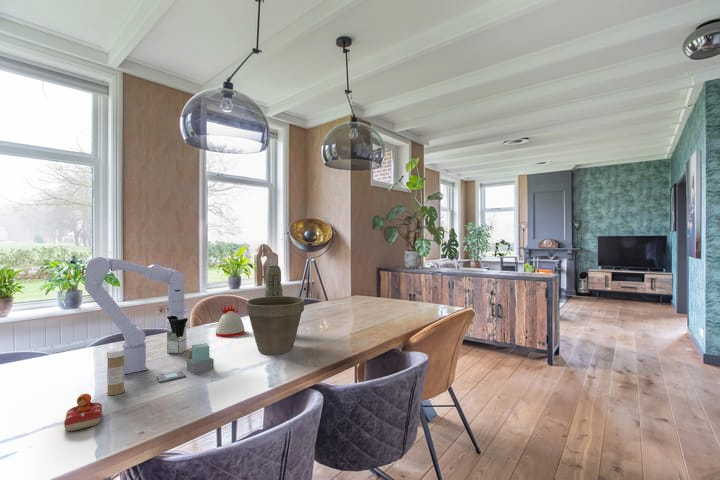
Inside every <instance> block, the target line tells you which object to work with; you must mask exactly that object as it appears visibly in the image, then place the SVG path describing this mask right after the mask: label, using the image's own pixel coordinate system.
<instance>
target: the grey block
mask: <svg viewBox="0 0 720 480" xmlns="http://www.w3.org/2000/svg"><path fill="white" fill-rule="evenodd" d="M214 361H215V360H214V358H212V357H210V356H209V360H204V361H199V362H194V361H193V359H192V358H191V359H187V358H186V371H188V372H190V373H191V374H193V375H197V374H201V373H205V372H208V371H212V370H215V369H214V367H215V365H214V363H215V362H214Z"/></svg>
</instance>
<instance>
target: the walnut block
mask: <svg viewBox="0 0 720 480" xmlns="http://www.w3.org/2000/svg"><path fill="white" fill-rule="evenodd" d="M186 351H187V353H186V354H187V355H186V360H187V359H191V358H192V347H189V348H188V347H187V350H186Z"/></svg>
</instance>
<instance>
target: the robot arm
mask: <svg viewBox="0 0 720 480" xmlns="http://www.w3.org/2000/svg"><path fill="white" fill-rule="evenodd" d="M84 270H85V271H84V272H85V273H84V289H85V291H86V292H87V294H88V295H89V296H90V297H91V298H92V299H93V301H95V303H96V304H97V305H98V306H99V307H100V309H101V310H102V311H103V312H104V313H105V315H106V316H107V317H108V318H109V319H110V321H111V322H112V323H113V324H114V325H115V326H116V327H117V329H118V330H119V331H120V333H121V334H122V336H123V339H124V343H123V344H122V346H121V347H120V348H123V349H124V352H125V354H124V375H126V374H133V373H137V372H141V371H142V372H143V371H147V370H149V367H148V364H146V363H147V358H146V357H147V354H146V353H147V352H146V350H147V349H146V347H147V346H146V345H147V344H146V343H147V342H146V339H147V337H146V333H145V331H144V330H143V329H142V327H141V326H139V325H136V324H135V323H134V322H133V321H132V320H131V319H130V317H128V316H127V314H126V313H125V312H124V310H123V309H122V308H121V307H120V305H118V303H117V302H116V301H115V300H114V298H113V297H112V296H111V295H110V293H109V292H108V291H107V290H106V289H105V288H104V286H103V284H104V280H105V277H106V275H107V274H108V273H109V272H110V271H111V272H117V271H121V270H122V271H126V272H131V273H135V274H141V275H144V276H145V278H146V279H147V280H150V281H153V282H158V283H159V282H160V283H163V284H166V283H168V284H167V288H168V290H167V299H168V300H167V301H168V302H167V303H168V304H167V305H168V306H167V307H168V312H167V315H168V316H166V319H167V320H169V322H170V325H171V329H172V333H176V336H177V337H182V336H183V333H184V328H185V325H186V326H187V322H188V321H189V318H188V317H186V318H184V317H185V314H186V313H189V310H188V309H186V305H185V288H184V285H185V284H184V283H185V282H186V277H185V274H184V273H183V272H182V271H180V270H176V269H174V268H172V267H170V268H168V267H164V266H162V265H161V264H159V263H156V264H151V265H148V266H145V265H141V264H138V263H135V262H131V261H127V260H123V259H119V258H118V259H117V258H110V257H107V258H105V257H103V256H95V257H92V258H90V260H89V261H88V263H87V265H86V267H85V269H84Z"/></svg>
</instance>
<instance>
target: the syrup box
mask: <svg viewBox="0 0 720 480" xmlns="http://www.w3.org/2000/svg"><path fill="white" fill-rule="evenodd" d="M184 318H187V317H186V316H184ZM187 343H188V342H187V324H186V325H185V328H184V333H183V336H182V337H177V336H176V333H172V329H171V325H170V322H169V320H168V319H166V348H167V349H166V351H167V352H166V353H167V354H181V353H184V352H185V351H187V349H188V345H187Z"/></svg>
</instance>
